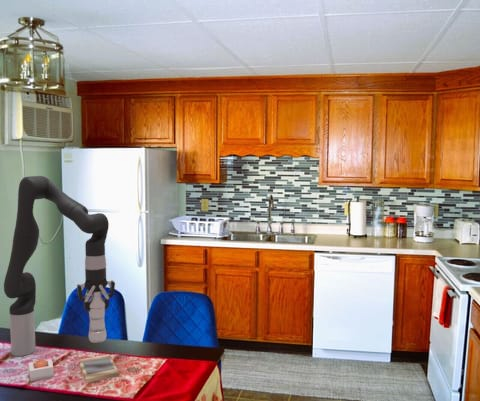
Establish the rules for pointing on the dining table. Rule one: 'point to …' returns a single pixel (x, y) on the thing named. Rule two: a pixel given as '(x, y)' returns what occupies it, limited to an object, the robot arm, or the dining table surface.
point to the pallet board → (98, 368)
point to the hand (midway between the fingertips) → (96, 309)
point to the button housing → (41, 371)
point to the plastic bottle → (97, 318)
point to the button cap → (40, 363)
